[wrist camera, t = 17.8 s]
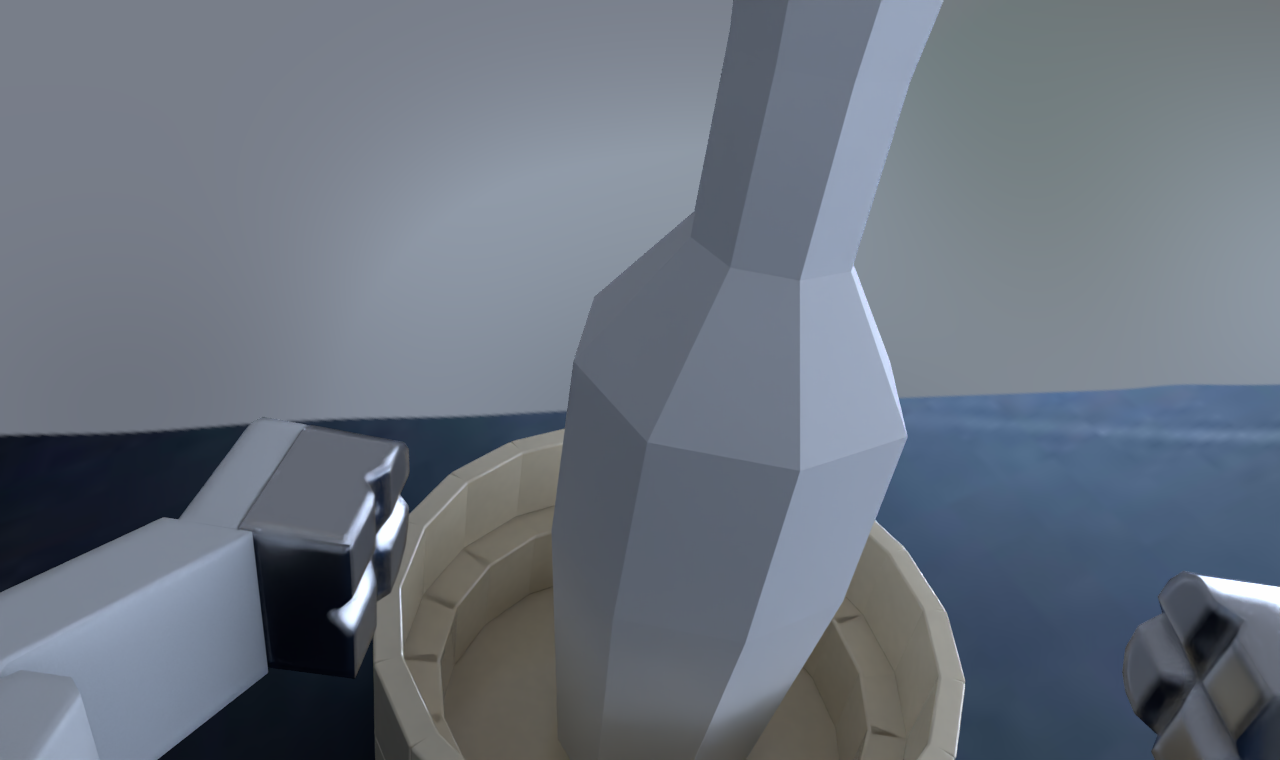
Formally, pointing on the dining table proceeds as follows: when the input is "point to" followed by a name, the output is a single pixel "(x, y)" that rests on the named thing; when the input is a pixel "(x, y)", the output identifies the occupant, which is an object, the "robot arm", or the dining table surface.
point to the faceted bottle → (735, 403)
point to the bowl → (525, 638)
